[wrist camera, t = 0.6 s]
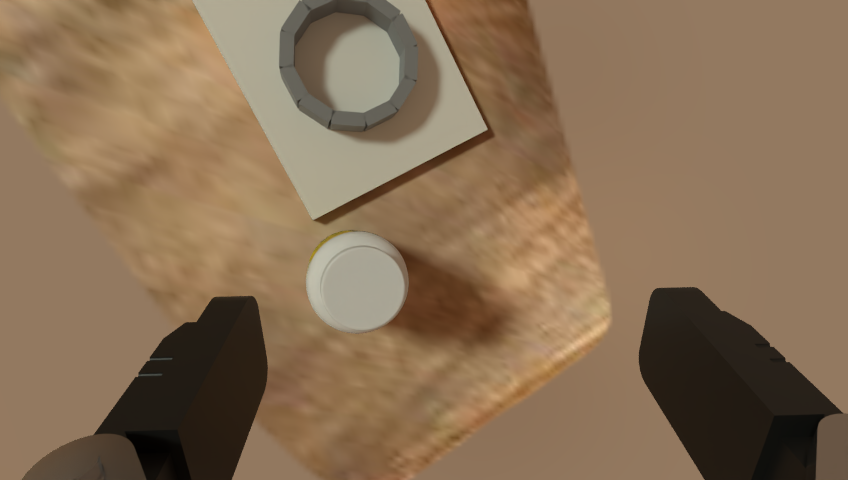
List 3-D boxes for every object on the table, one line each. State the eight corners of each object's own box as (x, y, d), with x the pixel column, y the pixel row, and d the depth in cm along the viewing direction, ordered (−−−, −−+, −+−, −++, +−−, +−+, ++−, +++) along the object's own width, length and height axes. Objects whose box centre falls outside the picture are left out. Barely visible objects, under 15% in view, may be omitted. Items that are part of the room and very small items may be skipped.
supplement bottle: (387, 226, 34) (417, 228, 25) (393, 307, 34) (425, 340, 25) (303, 232, 33) (301, 236, 23) (310, 316, 33) (310, 354, 24)
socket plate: (191, -1, 31) (180, -22, 28) (381, -80, 33) (387, -107, 31) (312, 220, 33) (312, 220, 30) (483, 131, 35) (498, 123, 33)
